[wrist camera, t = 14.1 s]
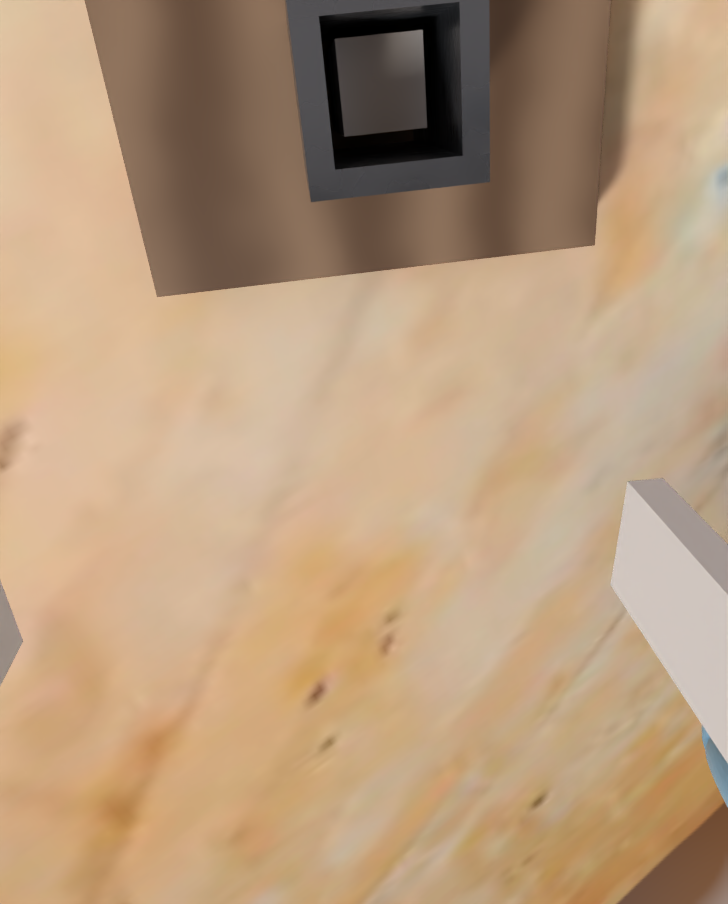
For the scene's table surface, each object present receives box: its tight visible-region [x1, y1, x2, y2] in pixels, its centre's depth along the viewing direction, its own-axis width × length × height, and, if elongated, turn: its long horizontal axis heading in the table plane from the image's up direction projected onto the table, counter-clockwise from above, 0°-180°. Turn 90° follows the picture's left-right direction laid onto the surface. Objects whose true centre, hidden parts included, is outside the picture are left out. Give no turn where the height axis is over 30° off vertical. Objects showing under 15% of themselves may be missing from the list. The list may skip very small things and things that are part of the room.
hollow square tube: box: [285, 0, 490, 202], centre depth 25 cm, size 6×6×10 cm
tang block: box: [85, 0, 611, 297], centre depth 28 cm, size 22×16×10 cm
